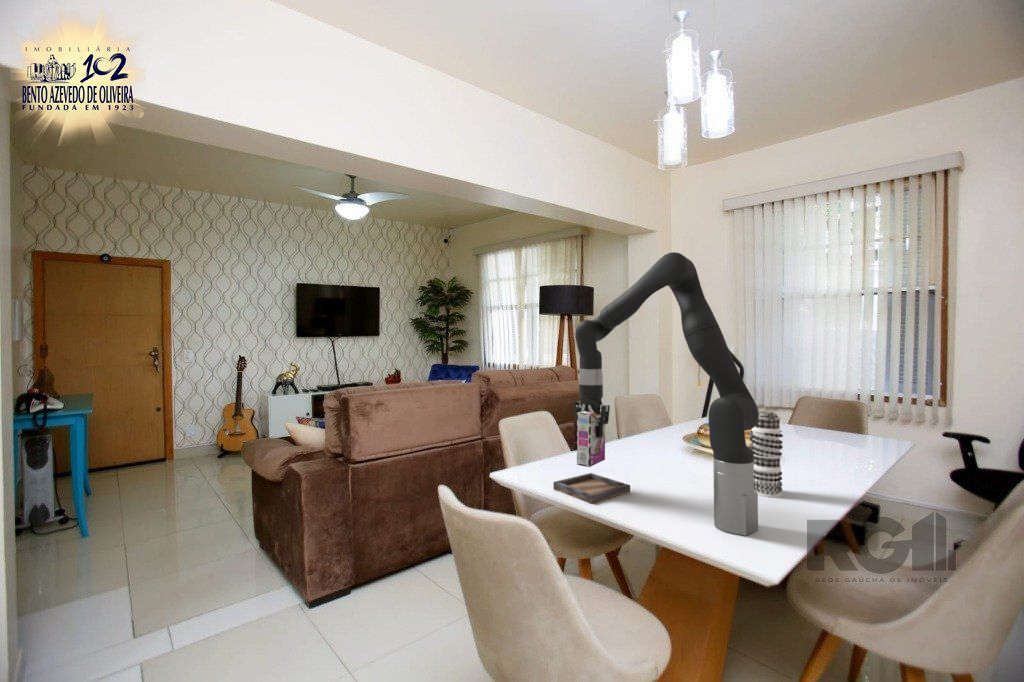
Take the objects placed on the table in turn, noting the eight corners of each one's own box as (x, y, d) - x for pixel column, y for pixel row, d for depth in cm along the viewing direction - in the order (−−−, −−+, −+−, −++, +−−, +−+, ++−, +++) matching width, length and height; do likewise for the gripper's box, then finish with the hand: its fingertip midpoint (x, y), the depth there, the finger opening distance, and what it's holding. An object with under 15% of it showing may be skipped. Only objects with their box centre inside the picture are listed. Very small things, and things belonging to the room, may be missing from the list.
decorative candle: (786, 492, 142) (786, 412, 143) (779, 499, 136) (778, 415, 136) (754, 486, 149) (753, 409, 149) (746, 493, 142) (745, 412, 142)
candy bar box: (590, 467, 139) (590, 414, 139) (576, 465, 142) (575, 412, 142) (606, 460, 148) (605, 409, 148) (592, 457, 151) (591, 408, 151)
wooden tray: (630, 492, 143) (630, 485, 143) (591, 503, 133) (591, 496, 133) (591, 479, 157) (591, 472, 157) (553, 489, 147) (553, 481, 147)
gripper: (616, 383, 142) (616, 438, 142) (583, 380, 153) (583, 431, 153) (599, 385, 137) (599, 441, 137) (566, 382, 149) (567, 433, 149)
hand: (591, 435), depth 145 cm, fingers closed on candy bar box, 6 cm apart
